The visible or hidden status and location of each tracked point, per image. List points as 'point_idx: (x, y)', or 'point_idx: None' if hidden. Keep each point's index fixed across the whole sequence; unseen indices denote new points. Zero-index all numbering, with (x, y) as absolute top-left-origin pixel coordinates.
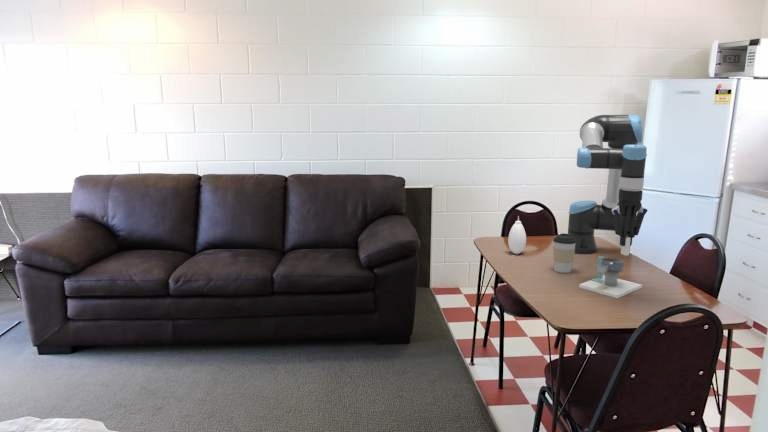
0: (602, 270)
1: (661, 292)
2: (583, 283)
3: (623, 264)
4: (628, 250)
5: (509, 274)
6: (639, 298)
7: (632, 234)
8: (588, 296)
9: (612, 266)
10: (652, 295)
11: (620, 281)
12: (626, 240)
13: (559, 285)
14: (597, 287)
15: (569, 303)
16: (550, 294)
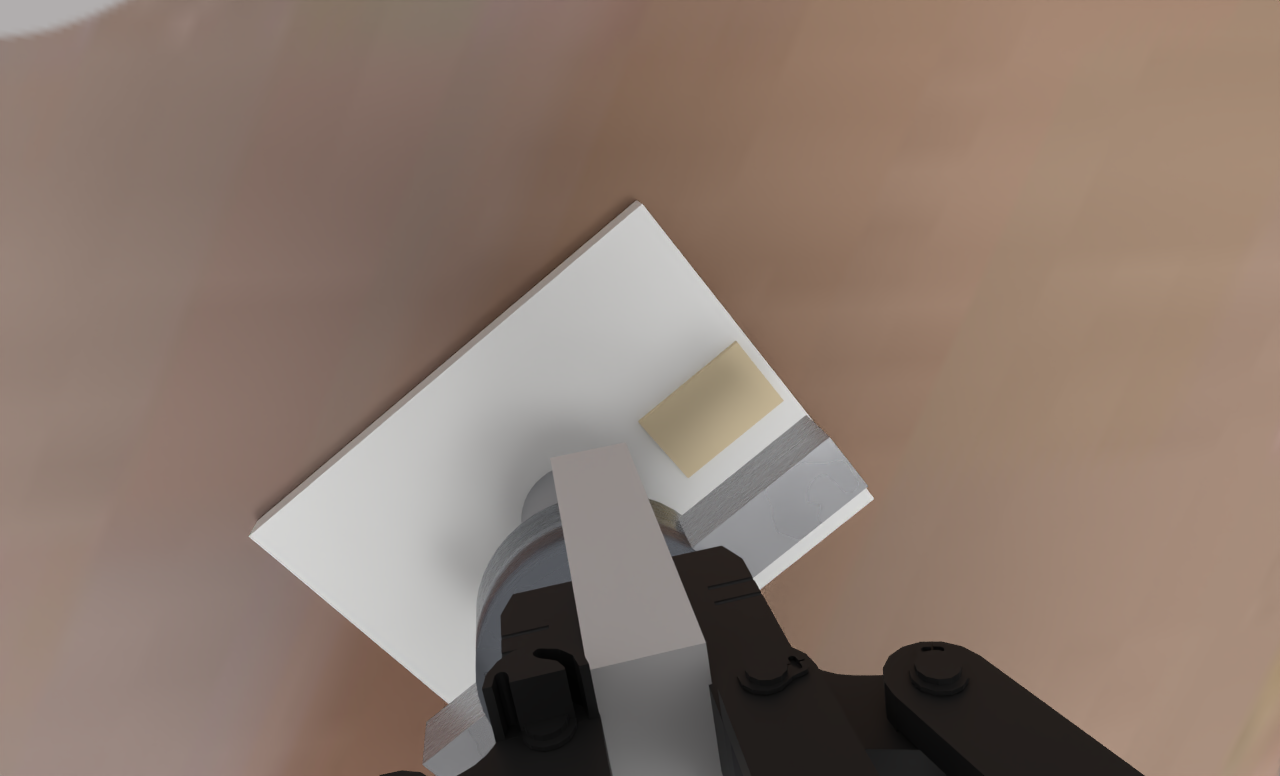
0: (817, 426)
1: (84, 399)
2: (827, 522)
3: (500, 590)
4: (576, 497)
5: (1256, 732)
6: (402, 206)
7: (538, 756)
8: (883, 249)
9: (662, 531)
10: (222, 302)
11: (444, 612)
12: (687, 599)
13: (1003, 520)
14: (753, 409)
15: (1134, 55)
16: (1180, 290)
